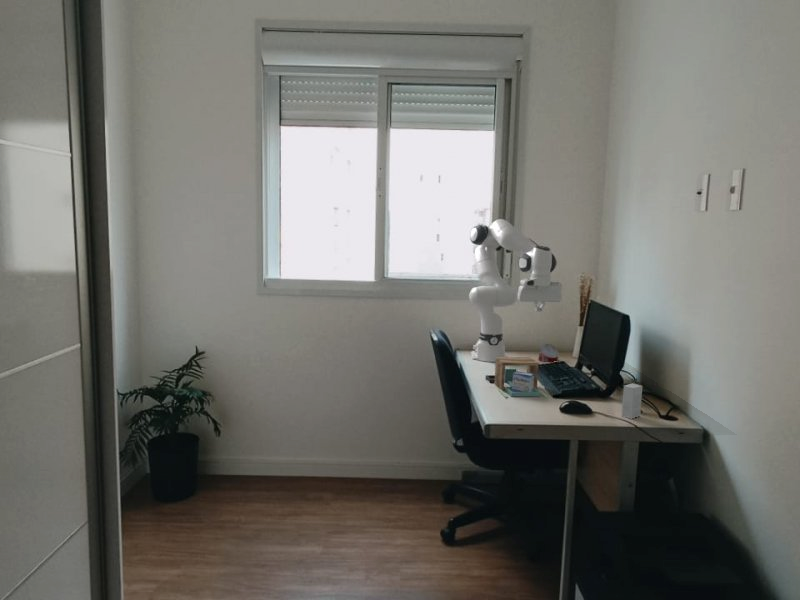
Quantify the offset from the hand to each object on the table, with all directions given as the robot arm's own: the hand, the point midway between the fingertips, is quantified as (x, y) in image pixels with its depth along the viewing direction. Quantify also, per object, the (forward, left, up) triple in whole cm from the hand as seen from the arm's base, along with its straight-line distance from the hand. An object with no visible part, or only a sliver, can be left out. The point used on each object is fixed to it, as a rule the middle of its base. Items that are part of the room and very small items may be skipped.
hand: (538, 311), depth 251 cm
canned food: (-31, +19, -32) cm, 48 cm away
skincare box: (+55, +17, -31) cm, 66 cm away
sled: (+19, -15, -31) cm, 39 cm away
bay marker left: (+27, -23, -31) cm, 47 cm away
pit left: (+6, -22, -31) cm, 39 cm away
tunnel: (+17, -15, -31) cm, 38 cm away
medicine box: (+26, -15, -31) cm, 43 cm away
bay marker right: (+27, -6, -31) cm, 42 cm away
